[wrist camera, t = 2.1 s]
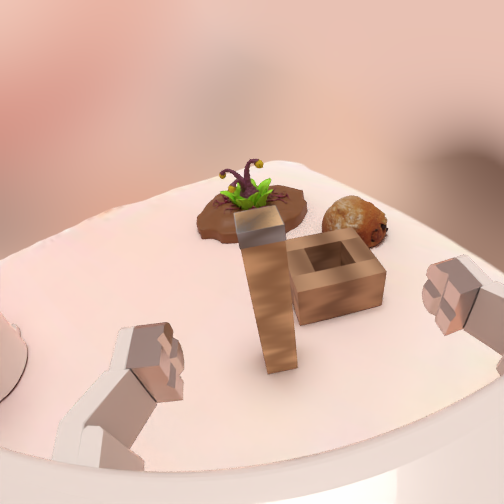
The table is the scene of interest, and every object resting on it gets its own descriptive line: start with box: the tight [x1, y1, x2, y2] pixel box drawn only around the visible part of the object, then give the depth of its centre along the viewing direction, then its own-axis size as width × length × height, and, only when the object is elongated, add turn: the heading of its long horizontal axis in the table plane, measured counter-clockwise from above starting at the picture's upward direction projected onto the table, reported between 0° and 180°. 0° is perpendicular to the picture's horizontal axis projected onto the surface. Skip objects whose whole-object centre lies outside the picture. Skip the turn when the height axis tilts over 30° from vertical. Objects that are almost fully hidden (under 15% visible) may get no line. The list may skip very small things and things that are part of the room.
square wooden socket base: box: [285, 227, 387, 325], centre depth 36 cm, size 10×10×5 cm
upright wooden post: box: [234, 205, 298, 374], centre depth 25 cm, size 3×3×16 cm
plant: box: [197, 159, 307, 244], centre depth 54 cm, size 20×20×11 cm
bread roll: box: [322, 195, 388, 248], centre depth 45 cm, size 10×10×8 cm
